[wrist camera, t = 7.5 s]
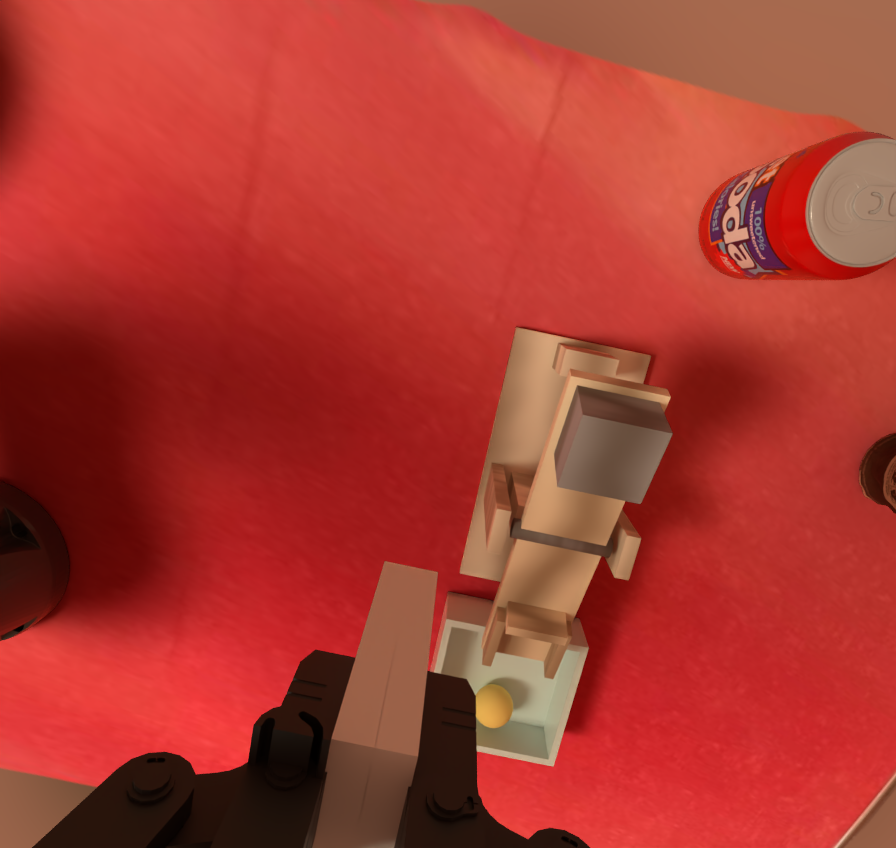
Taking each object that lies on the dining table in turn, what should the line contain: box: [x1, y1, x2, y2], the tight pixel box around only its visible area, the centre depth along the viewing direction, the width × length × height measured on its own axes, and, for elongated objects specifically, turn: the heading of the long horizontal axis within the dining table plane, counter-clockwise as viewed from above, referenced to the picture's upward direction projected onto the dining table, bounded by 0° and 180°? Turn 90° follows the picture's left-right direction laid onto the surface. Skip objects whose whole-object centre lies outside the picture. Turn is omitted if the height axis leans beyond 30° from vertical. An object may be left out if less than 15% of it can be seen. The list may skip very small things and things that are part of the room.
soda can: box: [699, 132, 896, 280], centre depth 39 cm, size 8×8×15 cm
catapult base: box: [460, 327, 651, 582], centre depth 46 cm, size 11×22×11 cm, turn 168°
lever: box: [481, 369, 673, 679], centre depth 41 cm, size 7×25×5 cm, turn 168°
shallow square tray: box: [430, 592, 589, 766], centre depth 54 cm, size 12×12×4 cm
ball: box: [476, 684, 513, 728], centre depth 54 cm, size 4×4×4 cm
